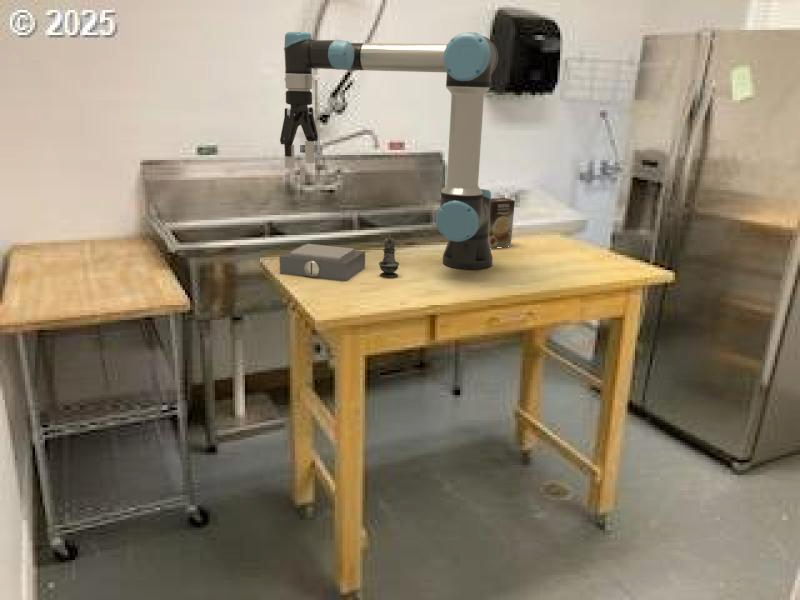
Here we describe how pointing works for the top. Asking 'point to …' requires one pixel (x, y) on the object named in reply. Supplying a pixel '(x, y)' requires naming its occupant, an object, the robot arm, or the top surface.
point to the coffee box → (501, 222)
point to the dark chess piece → (389, 259)
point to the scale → (323, 262)
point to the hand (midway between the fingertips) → (300, 165)
